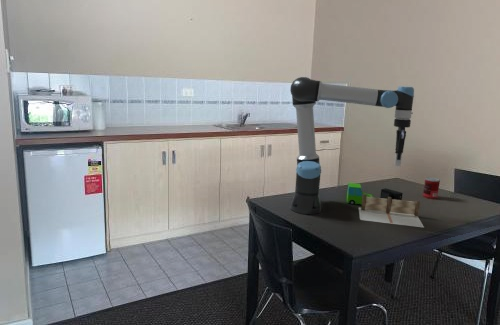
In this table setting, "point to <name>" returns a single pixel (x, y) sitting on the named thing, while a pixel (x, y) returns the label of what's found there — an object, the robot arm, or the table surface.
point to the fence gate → (405, 207)
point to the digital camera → (391, 194)
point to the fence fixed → (376, 203)
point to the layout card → (390, 217)
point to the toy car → (355, 194)
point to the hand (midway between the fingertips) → (397, 165)
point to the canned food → (431, 188)
